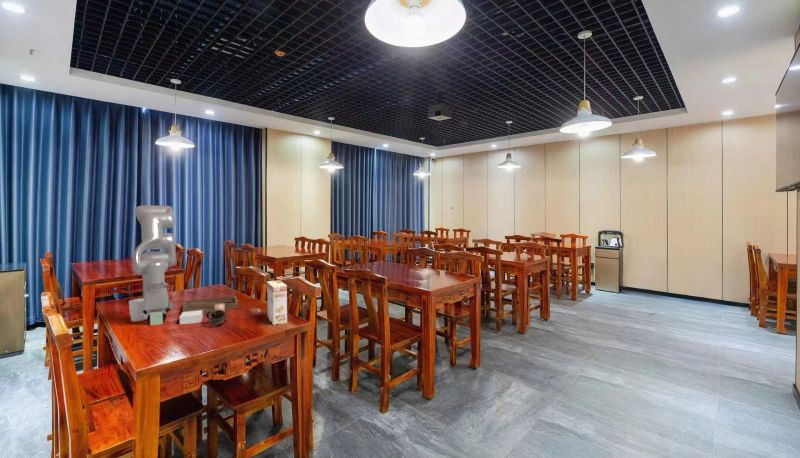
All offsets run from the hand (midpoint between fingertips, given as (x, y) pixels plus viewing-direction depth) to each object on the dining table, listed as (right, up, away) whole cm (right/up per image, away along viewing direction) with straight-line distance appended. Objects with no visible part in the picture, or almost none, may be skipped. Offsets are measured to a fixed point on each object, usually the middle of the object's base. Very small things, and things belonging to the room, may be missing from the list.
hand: (157, 321), depth 179 cm
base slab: (+15, -1, +5) cm, 15 cm away
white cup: (-13, 0, +6) cm, 14 cm away
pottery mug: (+30, -1, 0) cm, 30 cm away
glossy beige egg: (+23, 0, +17) cm, 28 cm away
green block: (0, -1, 0) cm, 1 cm away
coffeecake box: (+58, -1, +6) cm, 58 cm away
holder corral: (+13, +1, +27) cm, 30 cm away
